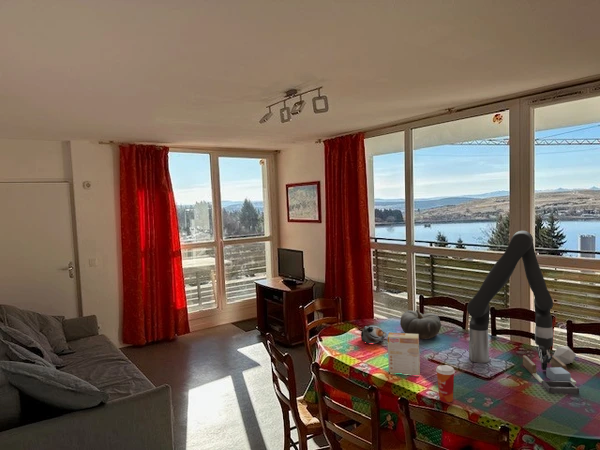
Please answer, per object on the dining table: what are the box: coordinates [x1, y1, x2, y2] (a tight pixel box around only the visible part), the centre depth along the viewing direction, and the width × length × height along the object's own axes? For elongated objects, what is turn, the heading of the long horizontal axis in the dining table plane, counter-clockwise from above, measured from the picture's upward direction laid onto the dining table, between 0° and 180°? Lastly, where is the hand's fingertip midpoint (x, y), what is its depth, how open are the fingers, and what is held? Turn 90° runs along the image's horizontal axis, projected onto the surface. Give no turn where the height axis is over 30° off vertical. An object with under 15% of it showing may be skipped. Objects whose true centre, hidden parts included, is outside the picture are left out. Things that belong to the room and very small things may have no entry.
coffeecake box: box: [387, 331, 421, 376], centre depth 203 cm, size 15×7×20 cm, turn 71°
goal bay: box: [532, 372, 577, 385], centre depth 189 cm, size 15×9×1 cm, turn 81°
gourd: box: [399, 309, 442, 340], centre depth 257 cm, size 25×25×17 cm
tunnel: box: [522, 355, 567, 376], centre depth 199 cm, size 15×12×5 cm
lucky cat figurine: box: [360, 324, 387, 344], centre depth 248 cm, size 15×12×14 cm
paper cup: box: [435, 364, 456, 403], centre depth 174 cm, size 8×8×14 cm
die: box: [552, 345, 577, 365], centre depth 206 cm, size 8×9×10 cm
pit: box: [541, 380, 580, 395], centre depth 178 cm, size 12×7×2 cm, turn 81°
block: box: [545, 366, 572, 381], centre depth 188 cm, size 7×7×4 cm
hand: (544, 369), depth 198 cm, fingers closed
